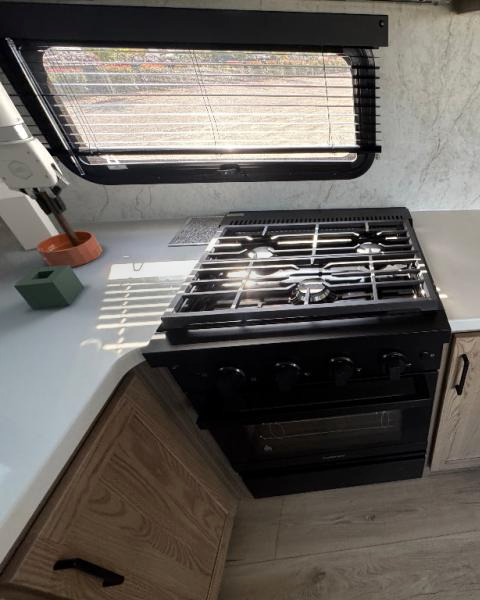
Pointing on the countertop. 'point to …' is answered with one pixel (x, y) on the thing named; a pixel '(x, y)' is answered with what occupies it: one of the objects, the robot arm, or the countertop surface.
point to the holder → (49, 287)
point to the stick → (61, 220)
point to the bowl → (69, 249)
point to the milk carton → (24, 217)
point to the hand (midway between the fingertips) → (56, 211)
